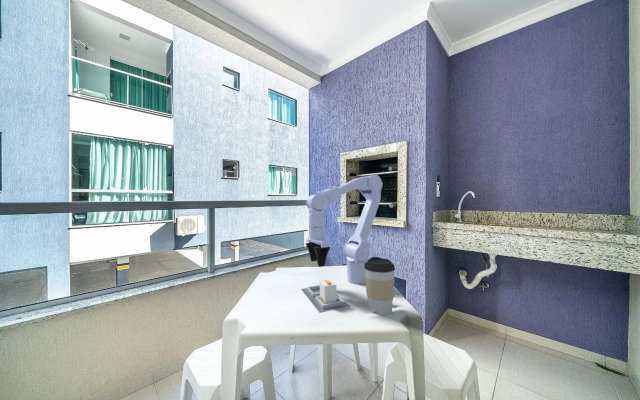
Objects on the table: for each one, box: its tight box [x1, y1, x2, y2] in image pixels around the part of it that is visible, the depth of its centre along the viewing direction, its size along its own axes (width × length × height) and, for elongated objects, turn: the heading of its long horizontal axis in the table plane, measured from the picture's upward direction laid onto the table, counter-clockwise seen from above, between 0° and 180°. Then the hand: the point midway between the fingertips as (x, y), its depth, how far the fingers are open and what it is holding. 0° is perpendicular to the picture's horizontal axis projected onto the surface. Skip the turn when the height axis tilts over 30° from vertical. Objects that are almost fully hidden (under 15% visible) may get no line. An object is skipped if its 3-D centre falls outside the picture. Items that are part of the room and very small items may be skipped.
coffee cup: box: [364, 256, 396, 316], centre depth 67 cm, size 9×9×15 cm
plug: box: [319, 279, 337, 304], centre depth 70 cm, size 4×4×7 cm
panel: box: [300, 284, 351, 314], centre depth 74 cm, size 10×19×2 cm, turn 22°
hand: (317, 263), depth 82 cm, fingers open, 7 cm apart
